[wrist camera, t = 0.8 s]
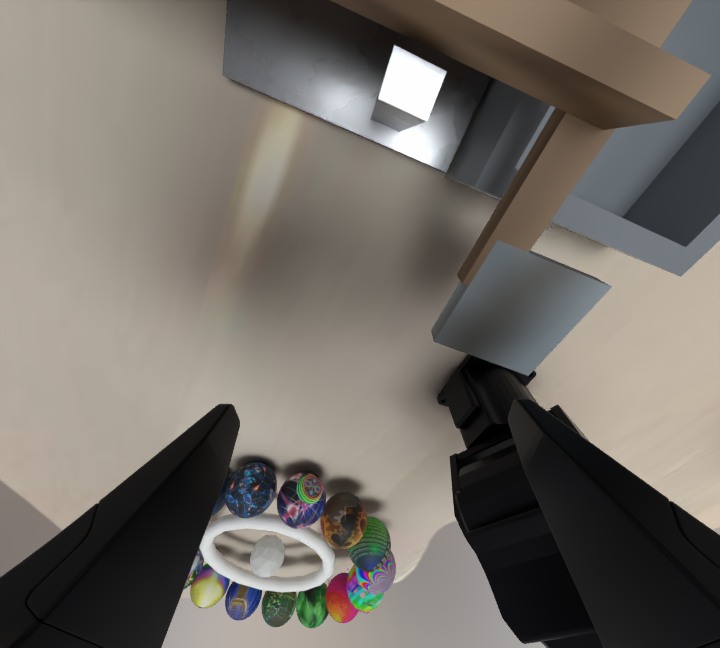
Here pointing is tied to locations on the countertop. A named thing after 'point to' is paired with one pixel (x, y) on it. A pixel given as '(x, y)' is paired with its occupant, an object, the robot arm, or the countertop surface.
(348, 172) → the countertop surface
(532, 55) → the tipping lever
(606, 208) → the grey open tray
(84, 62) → the countertop surface
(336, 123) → the lever stand
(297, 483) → the decorated egg ring holder
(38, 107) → the countertop surface
